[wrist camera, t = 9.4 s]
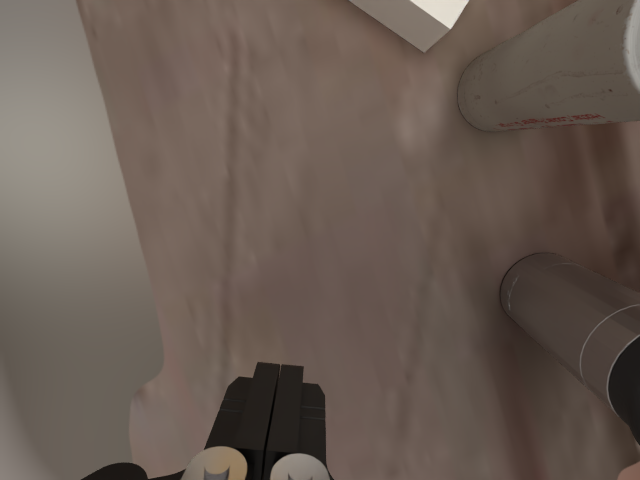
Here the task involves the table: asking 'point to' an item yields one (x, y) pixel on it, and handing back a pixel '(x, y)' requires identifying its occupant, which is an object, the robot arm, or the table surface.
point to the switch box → (415, 18)
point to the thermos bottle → (560, 71)
